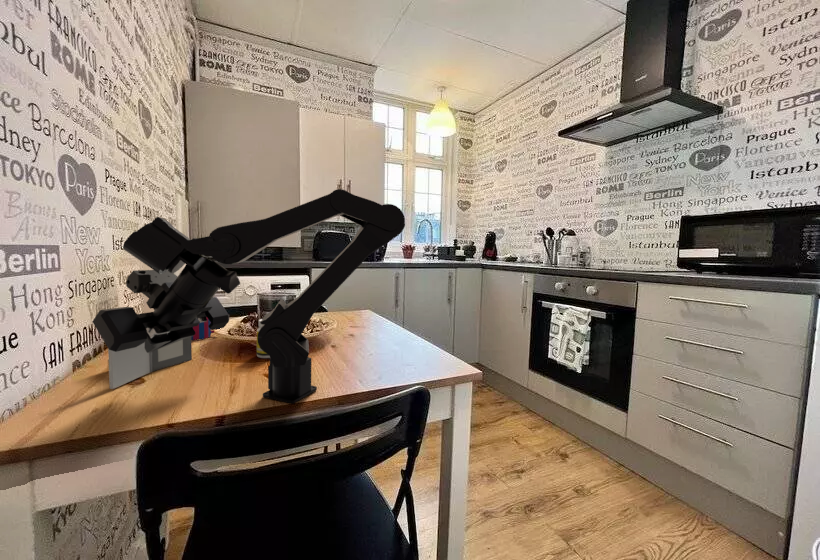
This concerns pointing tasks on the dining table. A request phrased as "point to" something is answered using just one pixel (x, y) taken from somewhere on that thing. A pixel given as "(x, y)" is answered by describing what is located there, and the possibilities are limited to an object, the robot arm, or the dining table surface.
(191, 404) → the dining table surface
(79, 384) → the dining table surface
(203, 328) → the mug
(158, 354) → the camera body
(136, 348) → the side door
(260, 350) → the supplement bottle
